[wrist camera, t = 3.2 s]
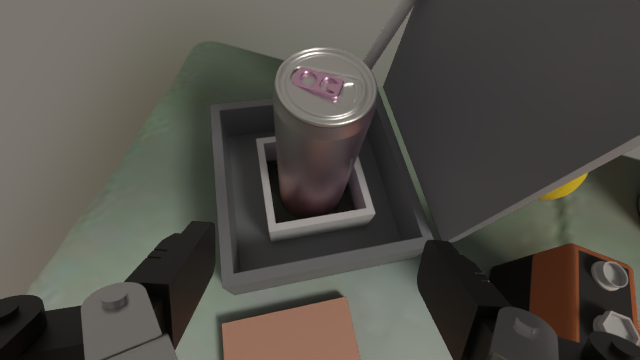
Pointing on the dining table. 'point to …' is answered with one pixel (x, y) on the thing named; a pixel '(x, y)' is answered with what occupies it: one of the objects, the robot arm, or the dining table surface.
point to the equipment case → (442, 134)
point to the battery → (572, 292)
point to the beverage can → (320, 126)
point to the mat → (294, 334)
